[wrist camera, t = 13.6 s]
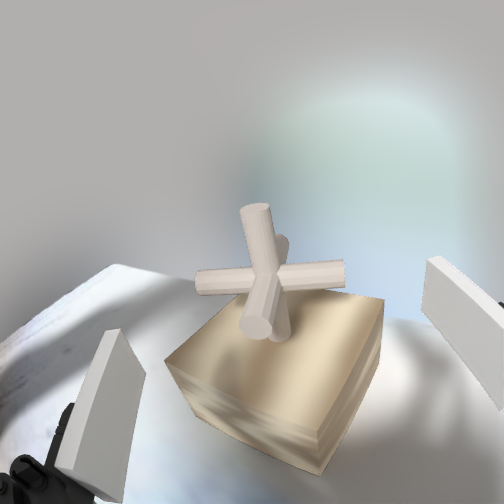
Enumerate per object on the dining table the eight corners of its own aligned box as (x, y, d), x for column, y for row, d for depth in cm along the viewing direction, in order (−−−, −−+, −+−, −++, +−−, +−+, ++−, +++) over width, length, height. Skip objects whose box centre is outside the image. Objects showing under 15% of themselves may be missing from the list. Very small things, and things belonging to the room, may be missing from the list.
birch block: (196, 416, 25) (163, 360, 22) (270, 335, 34) (257, 277, 31) (319, 476, 17) (316, 431, 14) (378, 363, 26) (384, 299, 23)
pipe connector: (342, 291, 25) (333, 178, 21) (348, 383, 17) (346, 235, 12) (232, 298, 28) (205, 194, 24) (198, 381, 19) (143, 254, 15)
